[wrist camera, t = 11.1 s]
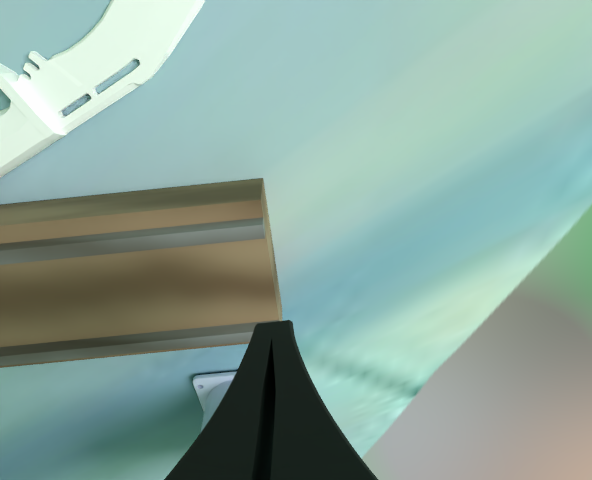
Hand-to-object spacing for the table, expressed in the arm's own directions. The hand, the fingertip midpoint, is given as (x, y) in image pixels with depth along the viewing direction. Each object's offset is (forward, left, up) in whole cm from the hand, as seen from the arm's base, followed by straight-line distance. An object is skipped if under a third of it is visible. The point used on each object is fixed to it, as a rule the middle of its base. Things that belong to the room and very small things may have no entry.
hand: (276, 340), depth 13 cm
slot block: (-2, +12, -9) cm, 15 cm away
